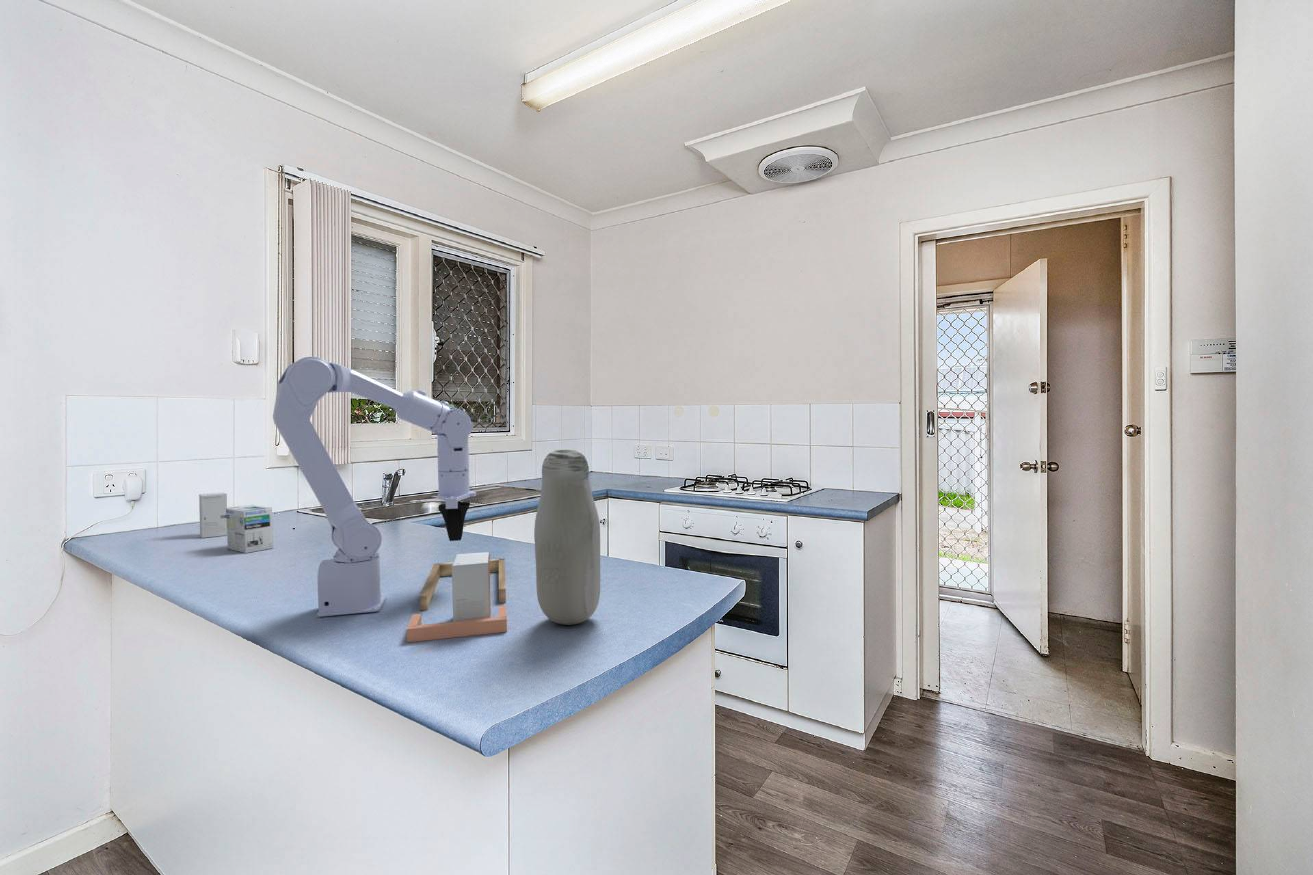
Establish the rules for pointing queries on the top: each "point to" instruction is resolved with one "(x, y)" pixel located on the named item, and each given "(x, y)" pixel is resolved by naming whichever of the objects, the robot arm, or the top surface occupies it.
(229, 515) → the light bulb box
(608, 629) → the top surface
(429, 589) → the u-shaped frame
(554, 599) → the grey bottle
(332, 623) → the top surface
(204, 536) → the skincare box
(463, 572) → the small box
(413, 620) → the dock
